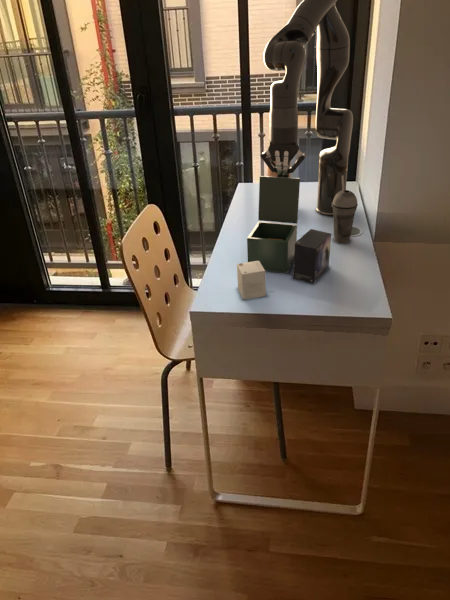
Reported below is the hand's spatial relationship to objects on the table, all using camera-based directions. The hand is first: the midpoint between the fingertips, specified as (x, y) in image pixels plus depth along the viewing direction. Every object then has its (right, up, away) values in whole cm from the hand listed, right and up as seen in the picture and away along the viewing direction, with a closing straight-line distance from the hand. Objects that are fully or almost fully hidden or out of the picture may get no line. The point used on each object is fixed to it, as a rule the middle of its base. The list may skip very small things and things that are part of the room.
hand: (282, 186), depth 144 cm
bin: (-3, -21, 0) cm, 22 cm away
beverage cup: (+19, -15, +9) cm, 25 cm away
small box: (+7, -25, -7) cm, 27 cm away
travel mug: (+2, 0, +34) cm, 34 cm away
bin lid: (-2, -5, -3) cm, 6 cm away
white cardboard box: (-10, -31, -14) cm, 35 cm away
